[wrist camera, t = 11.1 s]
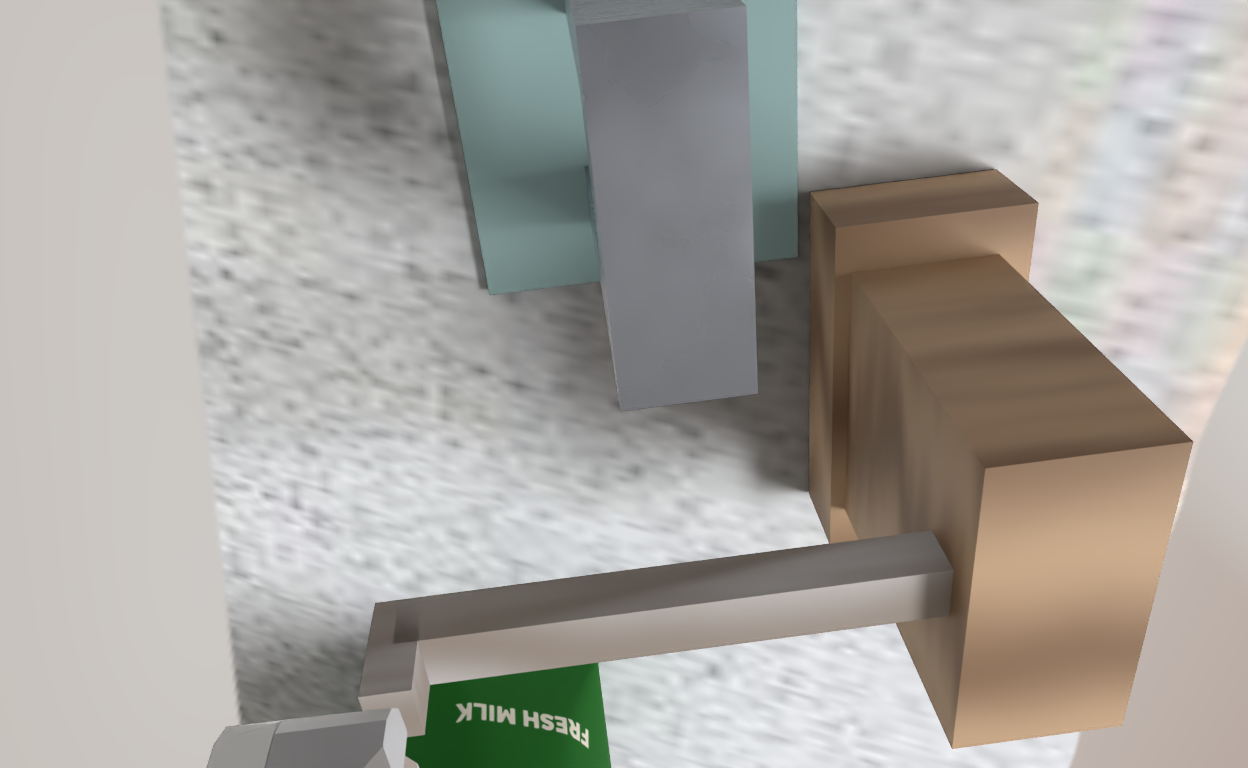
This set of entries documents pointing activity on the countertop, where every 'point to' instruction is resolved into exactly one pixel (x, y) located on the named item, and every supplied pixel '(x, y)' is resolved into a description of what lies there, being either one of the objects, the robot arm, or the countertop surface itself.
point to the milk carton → (516, 722)
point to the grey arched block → (670, 193)
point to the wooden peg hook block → (896, 495)
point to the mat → (556, 144)
